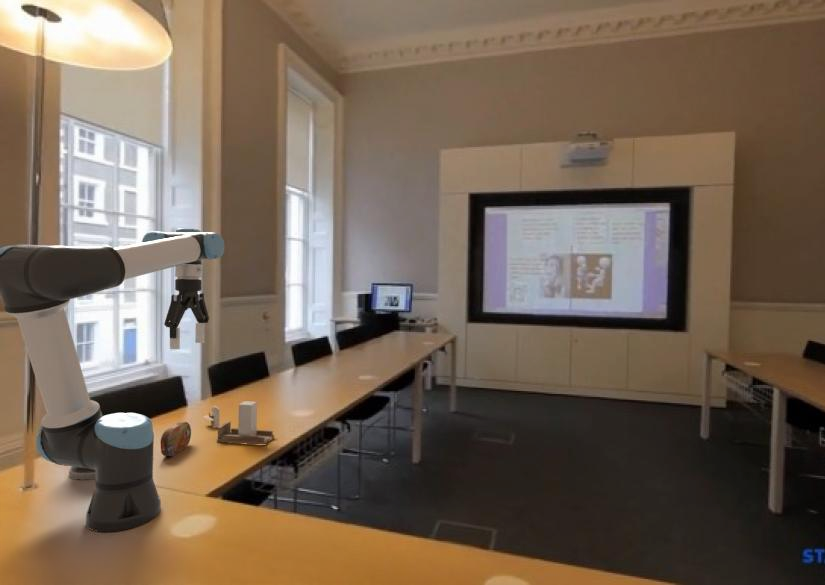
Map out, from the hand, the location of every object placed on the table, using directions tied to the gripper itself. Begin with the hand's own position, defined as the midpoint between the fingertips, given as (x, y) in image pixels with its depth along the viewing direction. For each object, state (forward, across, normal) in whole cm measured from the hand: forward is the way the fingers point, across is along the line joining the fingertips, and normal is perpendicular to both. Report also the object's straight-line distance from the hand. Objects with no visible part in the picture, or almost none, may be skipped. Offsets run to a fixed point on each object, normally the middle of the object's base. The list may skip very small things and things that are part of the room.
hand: (187, 345), depth 151 cm
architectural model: (+35, +28, +7) cm, 46 cm away
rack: (+35, +16, -12) cm, 40 cm away
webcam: (+35, -16, +18) cm, 42 cm away
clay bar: (+34, +16, -13) cm, 39 cm away
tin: (+35, +2, +5) cm, 35 cm away
